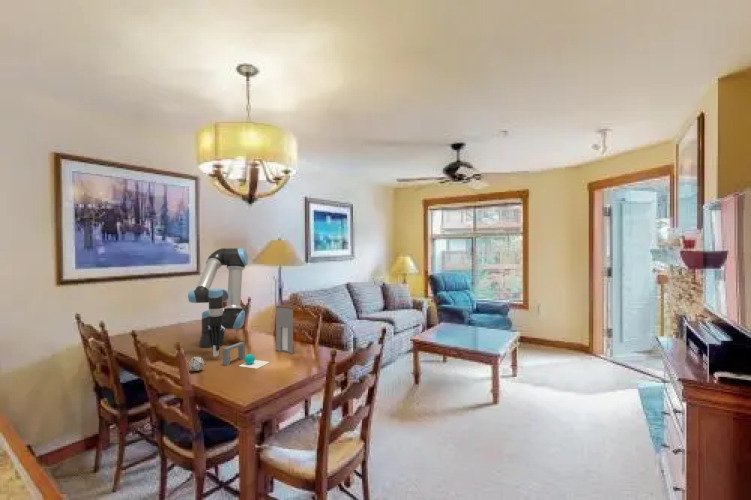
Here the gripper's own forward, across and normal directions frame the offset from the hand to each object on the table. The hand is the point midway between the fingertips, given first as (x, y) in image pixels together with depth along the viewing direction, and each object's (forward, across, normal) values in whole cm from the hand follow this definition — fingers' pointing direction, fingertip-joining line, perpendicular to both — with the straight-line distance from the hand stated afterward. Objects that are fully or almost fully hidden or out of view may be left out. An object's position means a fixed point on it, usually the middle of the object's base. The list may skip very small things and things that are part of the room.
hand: (215, 355), depth 222 cm
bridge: (+2, +13, 0) cm, 13 cm away
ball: (-1, +24, -1) cm, 24 cm away
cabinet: (+2, +26, +30) cm, 40 cm away
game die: (+2, +6, -20) cm, 21 cm away
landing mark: (+2, +27, 0) cm, 27 cm away
